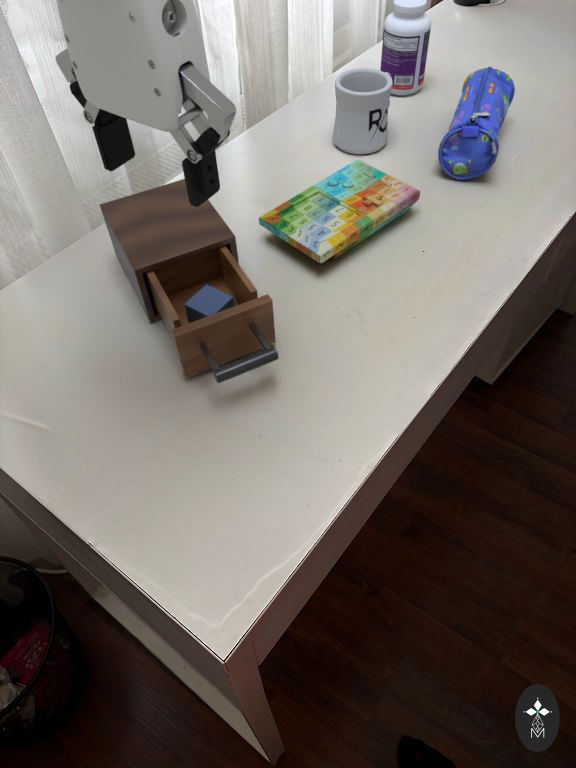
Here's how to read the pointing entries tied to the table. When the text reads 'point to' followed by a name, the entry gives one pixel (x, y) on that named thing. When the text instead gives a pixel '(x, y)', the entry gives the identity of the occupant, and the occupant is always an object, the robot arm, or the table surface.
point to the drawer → (214, 315)
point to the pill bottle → (406, 45)
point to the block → (207, 303)
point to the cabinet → (162, 233)
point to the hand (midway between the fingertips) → (161, 180)
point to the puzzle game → (340, 211)
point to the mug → (362, 110)
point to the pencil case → (476, 124)
